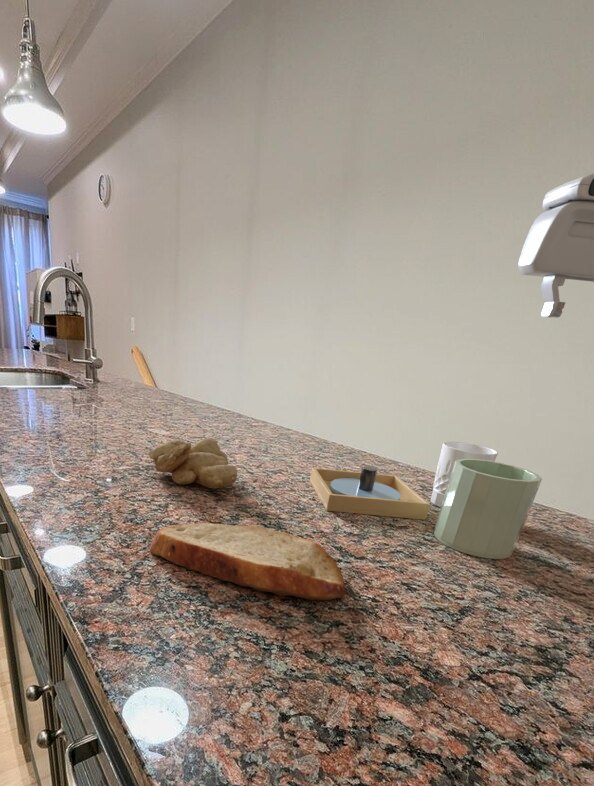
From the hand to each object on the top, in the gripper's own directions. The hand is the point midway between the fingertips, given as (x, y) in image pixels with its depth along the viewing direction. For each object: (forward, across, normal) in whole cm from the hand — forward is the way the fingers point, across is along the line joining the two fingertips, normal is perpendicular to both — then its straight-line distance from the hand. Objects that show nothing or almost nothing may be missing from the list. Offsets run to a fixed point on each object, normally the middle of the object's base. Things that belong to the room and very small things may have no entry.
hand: (586, 320), depth 58 cm
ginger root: (+29, +50, -8) cm, 58 cm away
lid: (+28, +21, -6) cm, 35 cm away
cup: (+29, +10, +8) cm, 32 cm away
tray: (+29, +21, -6) cm, 36 cm away
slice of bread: (+29, +42, +21) cm, 55 cm away
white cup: (+29, +6, -7) cm, 31 cm away
